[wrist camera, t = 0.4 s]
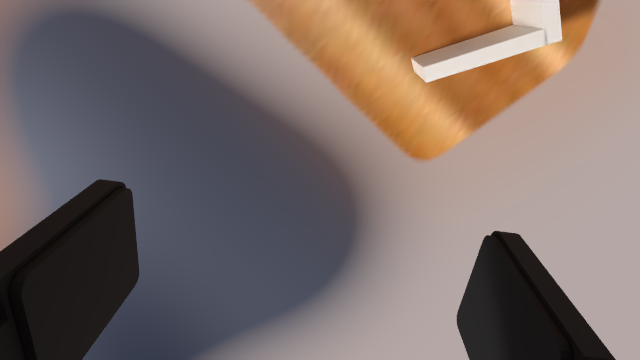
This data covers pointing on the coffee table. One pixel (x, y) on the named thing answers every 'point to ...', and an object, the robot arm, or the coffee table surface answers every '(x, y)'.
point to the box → (496, 41)
